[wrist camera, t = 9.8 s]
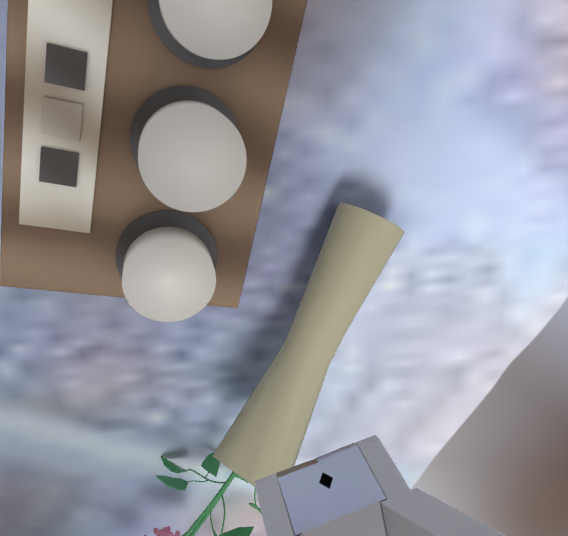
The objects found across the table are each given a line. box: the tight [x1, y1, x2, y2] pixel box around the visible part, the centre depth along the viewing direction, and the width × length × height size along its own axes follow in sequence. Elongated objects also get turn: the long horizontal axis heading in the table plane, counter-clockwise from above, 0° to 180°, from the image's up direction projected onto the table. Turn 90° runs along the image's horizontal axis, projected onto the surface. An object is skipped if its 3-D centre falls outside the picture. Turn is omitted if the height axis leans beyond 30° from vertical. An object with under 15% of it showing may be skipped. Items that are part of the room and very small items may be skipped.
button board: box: [0, 0, 307, 308], centre depth 27 cm, size 20×14×4 cm
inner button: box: [122, 227, 216, 322], centre depth 27 cm, size 5×5×2 cm
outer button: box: [159, 0, 272, 60], centre depth 22 cm, size 5×5×2 cm
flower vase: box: [144, 202, 404, 536], centre depth 35 cm, size 12×12×35 cm
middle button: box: [138, 100, 247, 212], centre depth 23 cm, size 5×5×2 cm
